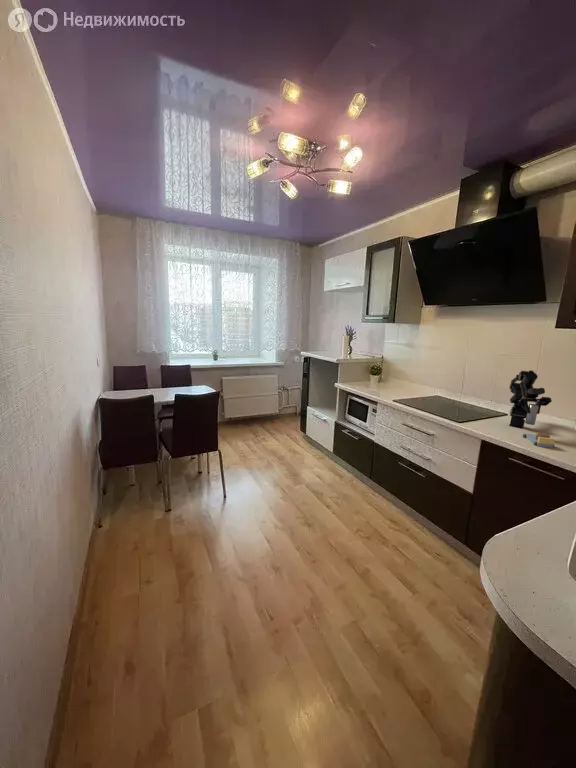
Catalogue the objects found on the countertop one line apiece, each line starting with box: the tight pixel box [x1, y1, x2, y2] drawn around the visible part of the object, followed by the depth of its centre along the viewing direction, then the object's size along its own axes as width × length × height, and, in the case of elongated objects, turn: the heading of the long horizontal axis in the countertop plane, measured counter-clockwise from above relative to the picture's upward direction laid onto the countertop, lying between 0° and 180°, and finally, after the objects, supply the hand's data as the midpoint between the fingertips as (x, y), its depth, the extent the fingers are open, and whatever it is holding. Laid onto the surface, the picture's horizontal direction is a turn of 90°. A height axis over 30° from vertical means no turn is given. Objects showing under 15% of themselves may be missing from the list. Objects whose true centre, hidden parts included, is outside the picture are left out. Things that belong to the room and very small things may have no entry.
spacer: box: [524, 403, 539, 426], centre depth 178 cm, size 4×4×11 cm
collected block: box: [535, 431, 551, 441], centre depth 166 cm, size 4×4×4 cm
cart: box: [522, 432, 556, 449], centre depth 170 cm, size 14×9×5 cm, turn 169°
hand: (533, 413), depth 176 cm, fingers closed on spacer, 4 cm apart
